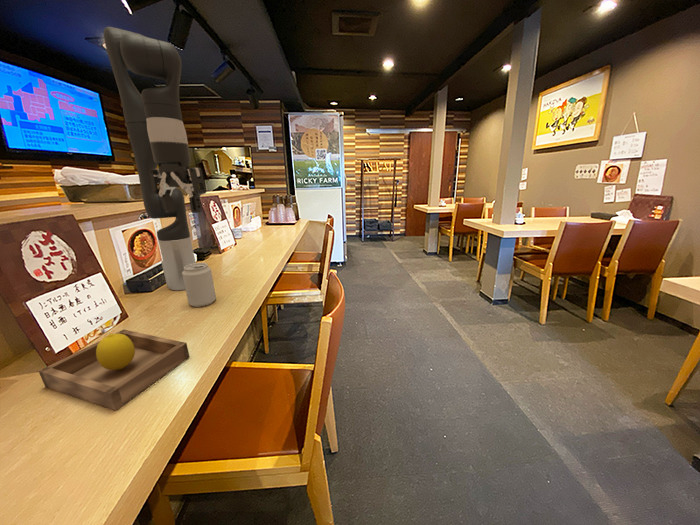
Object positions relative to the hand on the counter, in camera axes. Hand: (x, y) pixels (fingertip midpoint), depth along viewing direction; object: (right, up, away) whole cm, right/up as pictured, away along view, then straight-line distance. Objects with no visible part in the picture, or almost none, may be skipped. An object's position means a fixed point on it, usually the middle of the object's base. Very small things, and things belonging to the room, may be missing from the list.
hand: (183, 212), depth 68 cm
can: (-3, -25, +15) cm, 29 cm away
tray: (-3, -34, -14) cm, 37 cm away
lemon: (-3, -34, -14) cm, 37 cm away
